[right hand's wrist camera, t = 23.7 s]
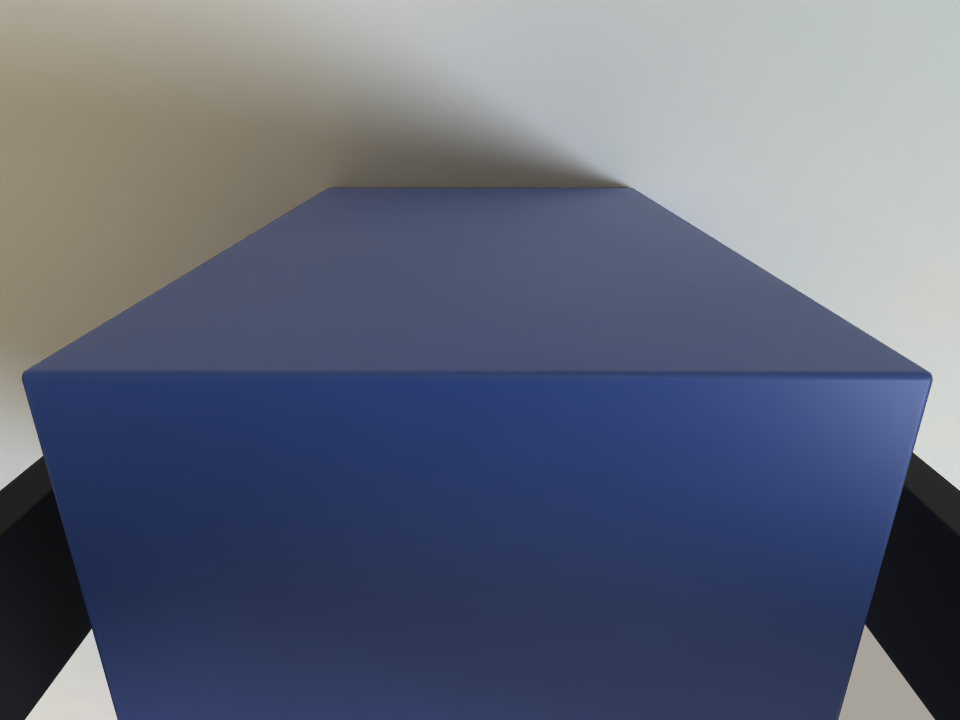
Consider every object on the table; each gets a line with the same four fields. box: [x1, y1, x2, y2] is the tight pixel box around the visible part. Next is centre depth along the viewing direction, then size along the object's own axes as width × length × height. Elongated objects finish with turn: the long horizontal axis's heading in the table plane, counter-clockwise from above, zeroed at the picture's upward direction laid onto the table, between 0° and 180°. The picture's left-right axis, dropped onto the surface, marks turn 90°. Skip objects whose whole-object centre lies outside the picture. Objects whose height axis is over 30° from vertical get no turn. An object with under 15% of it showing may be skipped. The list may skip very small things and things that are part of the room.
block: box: [22, 188, 932, 720], centre depth 13 cm, size 9×8×12 cm
